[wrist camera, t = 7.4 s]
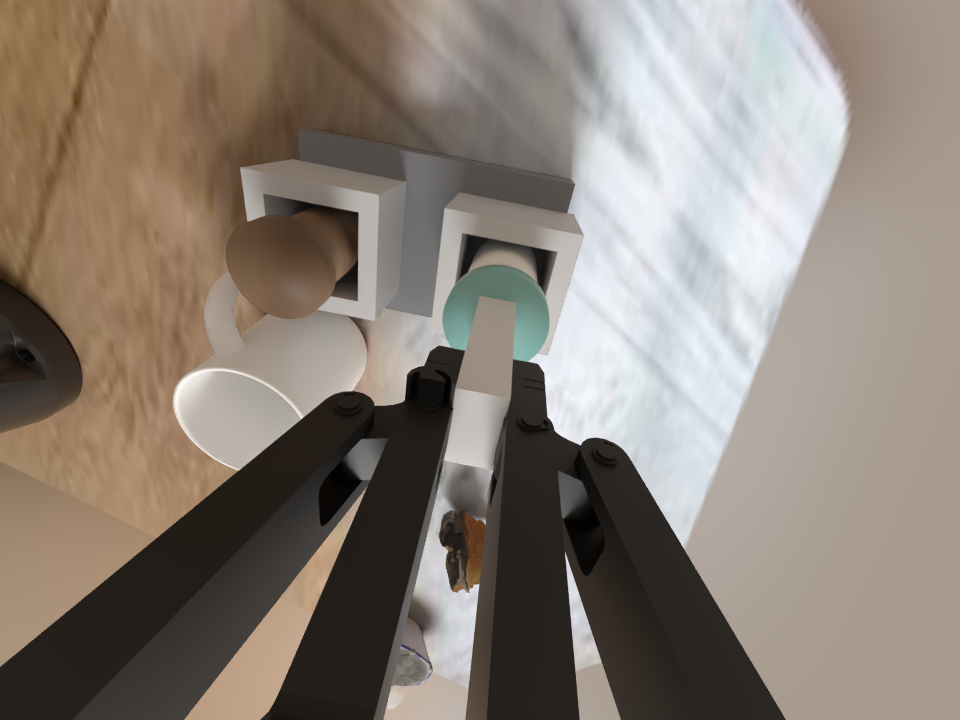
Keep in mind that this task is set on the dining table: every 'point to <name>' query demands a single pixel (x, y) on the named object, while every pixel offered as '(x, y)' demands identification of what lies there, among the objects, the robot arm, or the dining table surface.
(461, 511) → the rock
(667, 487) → the dining table surface
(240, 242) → the walnut plug
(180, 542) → the robot arm
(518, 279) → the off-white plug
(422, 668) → the bowl
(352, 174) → the white plug holder
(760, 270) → the dining table surface
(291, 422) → the mug
